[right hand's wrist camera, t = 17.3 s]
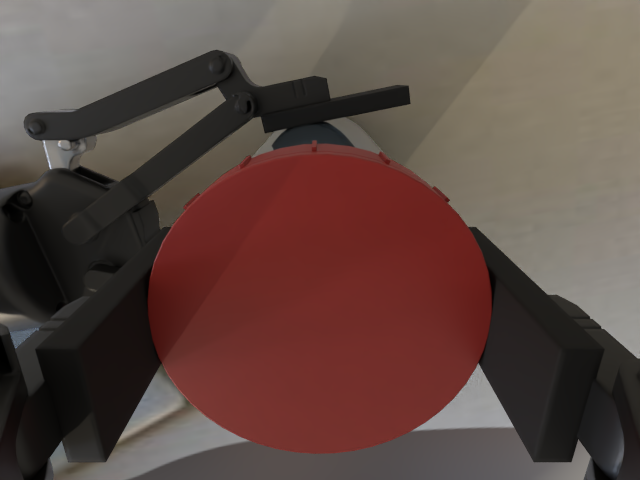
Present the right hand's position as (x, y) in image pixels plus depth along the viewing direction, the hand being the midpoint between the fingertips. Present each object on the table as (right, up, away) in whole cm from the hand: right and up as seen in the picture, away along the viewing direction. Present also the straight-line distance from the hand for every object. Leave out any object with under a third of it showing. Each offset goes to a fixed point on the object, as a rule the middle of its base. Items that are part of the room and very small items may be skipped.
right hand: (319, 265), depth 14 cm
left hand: (+5, +4, +7) cm, 9 cm away
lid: (0, -1, -3) cm, 3 cm away
